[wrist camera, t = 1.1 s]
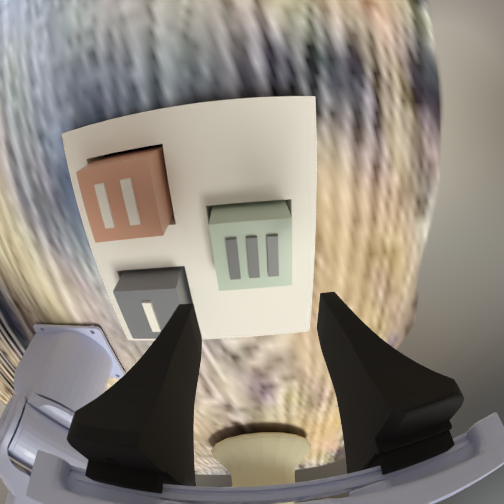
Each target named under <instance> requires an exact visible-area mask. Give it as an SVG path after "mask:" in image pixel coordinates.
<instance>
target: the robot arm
mask: <svg viewBox="0 0 504 504" xmlns="http://www.w3.org/2000/svg"><path fill="white" fill-rule="evenodd" d="M33 328H34V330H35V332H36V334H35V336H34V337H33V339H32V341H31V343H30V344H29V346H28V348H27V350H26V351H25V353H24V355H23V357H22V359H21V361H20V362H19V364H18V366H17V368H16V371H15V375H14V390H15V393H16V395H13V396H12V397H11V399H10V400H9V402H8V404H7V405H6V408H5V410H4V412H3V414H2V416H1V418H0V477H1V479H2V481H3V482H4V484H5V485H6V487H7V488H8V490H9V492H8V496H7V500H6V503H5V504H276V503H286V502H295V501H302V500H309V499H315V498H322V497H327V496H332V495H337V494H342V493H346V492H350V493H349V497H345V498H339V499H337V498H334V499H333V498H332V499H323V500H315V501H308V502H301V503H293V504H435V503H437V502H439V501H441V500H443V499H446V498H448V497H450V496H451V495H454V494H455V493H457V492H459V491H461V490H463V489H465V488H467V487H468V486H470V485H472V484H474V483H475V482H477V481H479V480H480V479H482V478H484V477H485V476H487V475H488V474H490V473H491V472H493V471H495V470H496V469H497V468H499V467H500V466H502V465H503V464H504V427H503V425H502V423H501V420H500V418H499V416H498V414H497V413H496V412H495V413H493V414H491V415H489V416H487V417H486V418H484V419H482V420H480V421H478V422H477V423H475V424H474V425H473V426H472V427H471V428H470V429H469V430H468V431H467V432H466V433H464V434H462V435H460V436H458V437H456V438H454V439H453V438H452V436H451V434H450V431H449V430H450V429H451V428H452V425H451V423H450V421H449V420H450V419H451V418H452V417H453V415H454V414H455V413H456V412H457V411H458V409H459V408H460V407H461V405H462V403H463V401H464V397H463V395H462V393H461V391H460V389H459V387H458V385H457V383H456V382H455V380H454V379H452V378H449V377H447V376H444V375H441V374H439V373H436V372H434V371H432V370H430V369H428V368H426V367H424V366H422V365H420V364H418V363H416V362H415V361H413V360H411V359H410V358H408V357H406V356H405V355H403V354H402V353H400V352H399V351H397V350H396V349H394V348H393V347H392V346H390V345H389V344H387V343H386V342H385V341H383V340H382V339H381V338H380V337H379V336H378V335H376V334H375V333H374V332H373V331H372V330H371V329H370V328H369V327H368V326H366V325H365V324H364V323H363V322H362V321H361V320H360V319H359V318H358V317H357V316H356V315H355V314H354V313H353V312H352V310H351V309H350V308H349V307H348V306H347V305H346V304H345V303H344V302H343V301H342V300H341V299H340V297H339V296H338V295H337V294H336V293H335V292H328V293H320V302H319V312H318V322H317V331H318V336H319V341H320V346H321V349H322V353H323V356H324V359H325V362H326V365H327V368H328V371H329V374H330V377H331V380H332V383H333V386H334V389H335V393H336V397H337V402H338V407H339V412H340V418H341V424H342V430H343V438H344V445H345V454H346V464H347V474H345V475H339V476H334V477H330V478H324V479H318V480H312V481H305V482H298V483H289V484H280V485H269V486H253V487H198V486H196V483H195V470H194V445H193V424H194V402H195V395H196V388H197V381H198V375H199V368H200V362H201V349H202V336H201V332H200V328H199V324H198V320H197V316H196V312H195V308H194V304H179V305H178V307H177V308H176V310H175V311H174V313H173V314H172V316H171V318H170V319H169V321H168V322H167V324H166V325H165V327H164V328H163V330H162V331H161V332H160V334H159V335H158V337H157V338H156V340H155V341H154V342H153V343H152V345H151V346H150V347H149V349H148V350H147V351H146V352H145V354H144V355H143V356H142V357H141V358H140V360H139V361H138V362H137V363H136V364H135V365H134V366H133V367H132V368H131V369H130V370H129V371H128V372H127V373H125V371H124V370H123V368H122V366H121V365H120V363H119V361H118V359H117V357H116V356H115V354H114V352H113V350H112V348H111V347H110V345H109V343H108V341H107V339H106V337H105V335H104V333H103V331H102V330H101V328H100V327H98V326H74V325H51V324H34V326H33ZM109 377H111V378H121V379H120V380H119V381H118V382H116V383H115V384H114V385H113V386H112V387H110V388H109V389H108V390H107V391H105V389H106V386H107V383H108V380H109ZM8 455H9V456H10V457H12V458H13V459H15V460H17V461H19V462H20V463H22V464H23V465H25V466H27V467H28V468H30V469H32V472H30V471H28V470H26V469H25V468H23V467H21V466H20V465H18V464H16V463H15V462H13V461H12V460H11V459H10V458H9V457H8ZM351 491H352V492H351Z"/></svg>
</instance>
